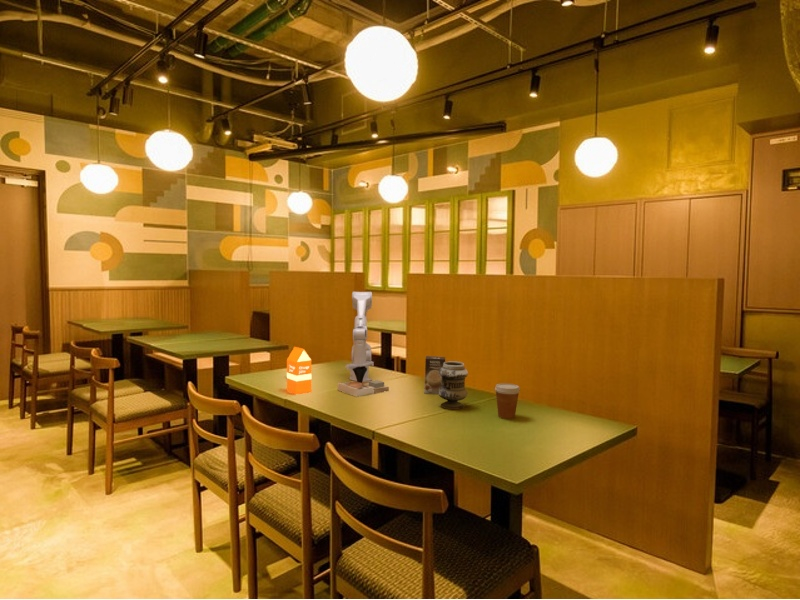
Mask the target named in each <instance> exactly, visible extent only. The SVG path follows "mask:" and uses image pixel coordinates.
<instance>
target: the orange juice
mask: <svg viewBox="0 0 800 600" xmlns="http://www.w3.org/2000/svg"><path fill="white" fill-rule="evenodd" d="M312 374H313V373H312V358H311V357H310V355H309V354H308V353H307V351H306V350H305V349H304V348H302V347H299V346H293V349H292V350H291V352H290V353H289V356H288V357H287V358H286V391H287V392H288V391H289V392H288V393H291V394H293V393H294V394H293V395H296V394H299V395H303V393H304V394H308V393H309V392H310V393H312V380H313V379H312Z"/></svg>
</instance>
